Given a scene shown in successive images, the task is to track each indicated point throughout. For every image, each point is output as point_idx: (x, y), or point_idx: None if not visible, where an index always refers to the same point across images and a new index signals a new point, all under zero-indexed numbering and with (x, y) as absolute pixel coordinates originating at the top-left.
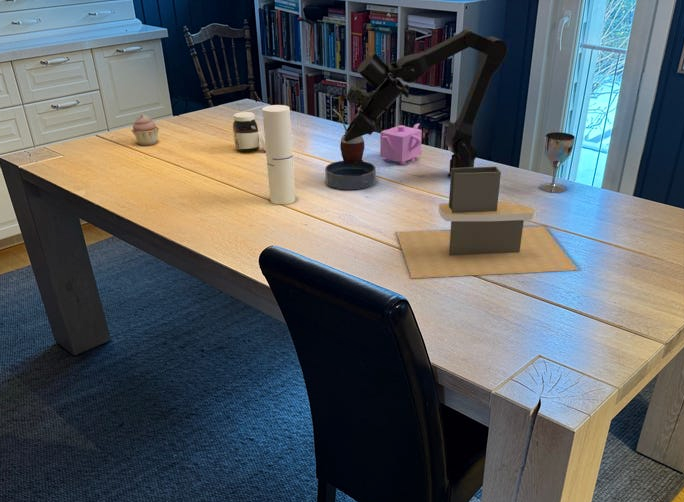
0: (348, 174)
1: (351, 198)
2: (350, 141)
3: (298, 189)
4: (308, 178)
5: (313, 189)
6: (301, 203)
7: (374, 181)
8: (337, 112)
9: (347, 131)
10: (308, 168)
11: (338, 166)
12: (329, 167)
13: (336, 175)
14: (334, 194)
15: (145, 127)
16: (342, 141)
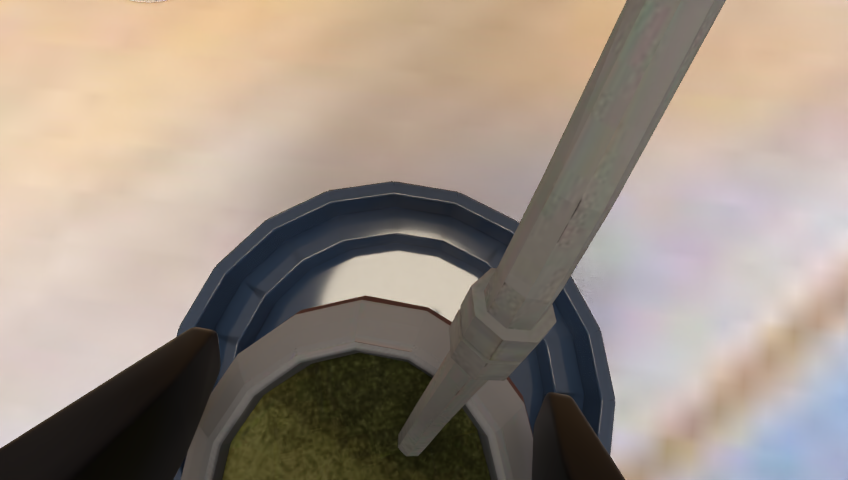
0: (539, 392)
1: (60, 349)
2: (195, 434)
3: (315, 31)
4: (514, 108)
5: (295, 120)
6: (66, 29)
7: None
8: (592, 137)
9: (424, 430)
10: (722, 125)
11: (563, 315)
12: (497, 231)
13: (227, 255)
14: (168, 243)
15: None
16: (298, 315)
